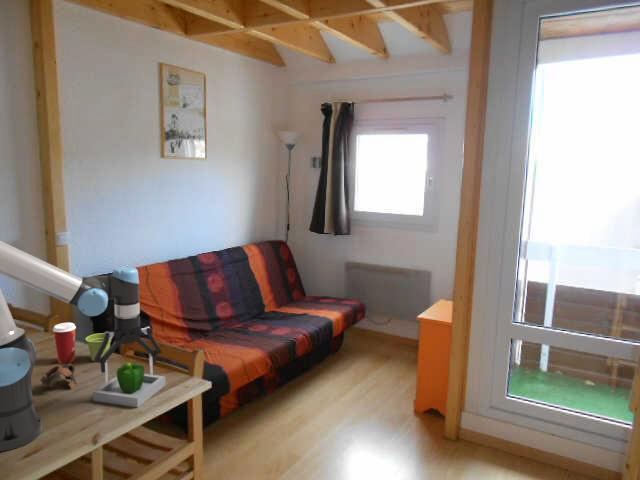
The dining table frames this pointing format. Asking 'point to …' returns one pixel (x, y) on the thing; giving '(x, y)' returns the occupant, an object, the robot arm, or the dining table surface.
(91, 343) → the plant pot
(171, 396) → the dining table surface
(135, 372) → the bell pepper
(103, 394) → the gray square tray
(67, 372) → the pottery mug
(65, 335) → the paper cup
